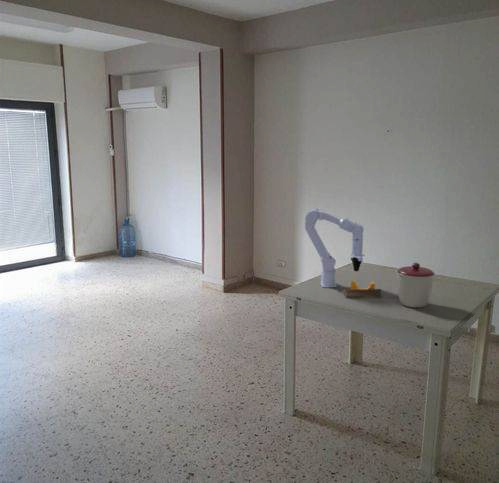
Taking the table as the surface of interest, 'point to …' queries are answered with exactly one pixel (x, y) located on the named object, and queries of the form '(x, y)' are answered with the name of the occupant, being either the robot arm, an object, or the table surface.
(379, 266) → the table surface
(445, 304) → the table surface
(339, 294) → the table surface
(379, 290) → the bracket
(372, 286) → the pipe clamp
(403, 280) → the canister
